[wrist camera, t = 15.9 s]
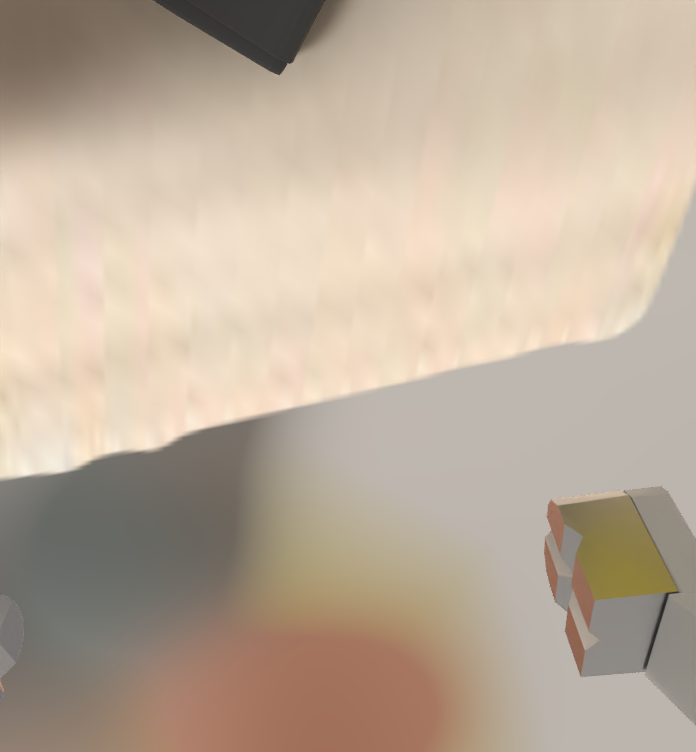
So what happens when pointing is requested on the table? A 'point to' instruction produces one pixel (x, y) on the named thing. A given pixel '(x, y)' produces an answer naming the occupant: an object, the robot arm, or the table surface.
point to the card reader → (253, 25)
